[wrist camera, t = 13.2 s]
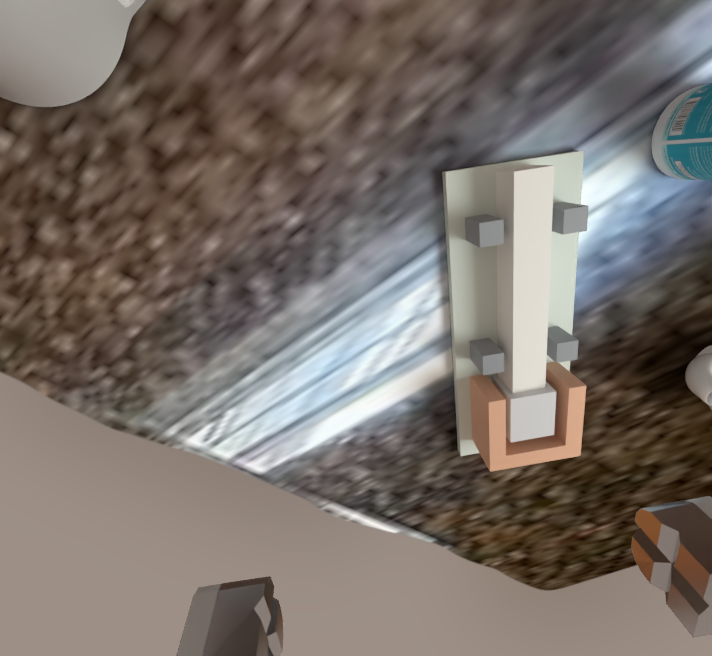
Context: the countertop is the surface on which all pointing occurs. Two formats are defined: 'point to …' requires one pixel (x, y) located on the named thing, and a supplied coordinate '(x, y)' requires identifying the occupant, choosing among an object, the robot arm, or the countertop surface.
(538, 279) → the white long bar
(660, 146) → the pill bottle
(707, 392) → the teapot
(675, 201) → the countertop surface
